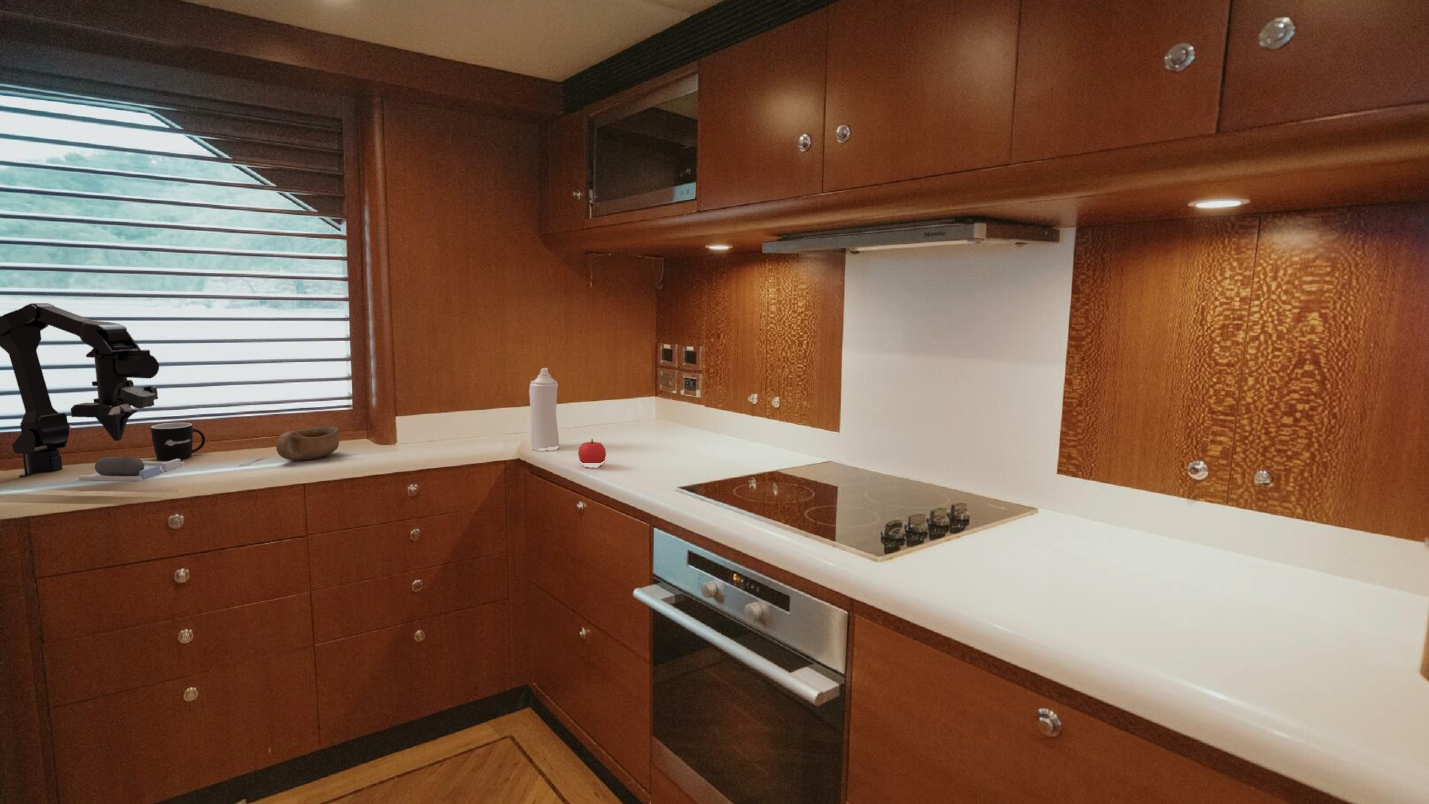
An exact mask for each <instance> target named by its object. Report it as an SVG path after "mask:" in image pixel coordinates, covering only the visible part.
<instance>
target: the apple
mask: <svg viewBox="0 0 1429 804" xmlns="http://www.w3.org/2000/svg"><path fill="white" fill-rule="evenodd" d="M577 453H578V460H579V462H580V461H581V462H582V463H601V462H603V461H605V460H606V455H607V452H606V448H605V446H604V445H603V443H601V442H597V441H594V438H591V441H587V442H583V443H582V444H581V445H580V446H579V447H578V452H577ZM605 462H606V461H605Z"/></svg>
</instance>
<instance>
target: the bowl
mask: <svg viewBox="0 0 1429 804" xmlns="http://www.w3.org/2000/svg"><path fill="white" fill-rule="evenodd" d="M339 432H340V429H339V428H338V427H337V426H317V427H315V426H314V427H309V428H303V429H298V430H297V429H296V430H288V431H285V432H283V433H281V434H280V435H279V436H278V438H277V440H276V444H275V445H276V446H275V447H276V448H275V449H276V451H277V453H278V456H280V457H281V458H283V459H285V460H290V461H291V460H292V461H293V460H294V461H297V460H298V461H302V460H315V459H321V458H325V457H326V456H328V455H331V454H332V453H334V452H335V451H336V450H337V449H338V448H339V445H340V443H339V442H340V441H339Z"/></svg>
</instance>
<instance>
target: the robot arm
mask: <svg viewBox="0 0 1429 804" xmlns="http://www.w3.org/2000/svg"><path fill="white" fill-rule="evenodd" d="M49 326H51V327H53V328H56V329H58V330H62V331H64V332H67V333H69V334H73V335H75V336H76V337H79V338H80V340H81V342H82V343H84V344H86V345H88V346H89V347H91V348H92V349H91V350H90V351H88V352H87V353H86V354H85V357H86V358H93V359H94V369H95V377H96V380H95V381H91V385H92V387H96V389H97V398H93V402H83V403H77V404H73V406H72V407H71V408H70V414H71V415H70V416H71V418H95V419H97V421H98V422H99V423H100V424H101V425H102V427H103V428H104V429H105V431H106V432H107V433H108V434H109V435H110V437H111V438H112V439H113V441H115V442H118V441H119V442H120V441H122V438H123V435H124V432H125V428H126V425H127V423H128V421H129V418H130V417H132V416H133V415H134V414H136V413H137V412H138V410H139V409H140V410H141V409H142V410H143V409H144V408H152V407H154V406H155V400H156V401H157V400H159V396H158V394H159V393H158V390H157V387H156V386H153V385H147V386H144V387H137V386H136V387H135V386H134V381H133V380H132V379H146V380H147V379H153V378H154V377H156V375H158V373H159V370H160V363H159V362H158V359H156V357H155V356H153V355H151V351H150V349H141V348H140V346H139V345H138V343H137V342H136V341H135V339H134V338H133V337H132V335H131V334H130V333H129V331H128V330H127V327H126V326H125V325H123V324H120V323H115V322H109V321H100V320H99V321H98V320H94V319H93V320H92V319H90V318H87V317H84V316H83V315H82V316H81V315H78V314H76V313H73V312H71V311H68V310H64V308H63V309H62V308H60V307H57V306H55V305H54V304H51V303H48V302H46V303H45V302H44V303H43V302H42V303H41V302H40V303H39V302H37V303H36V302H34V303H33V302H32V303H28V304H26V305H24V306H23V307H21V308H19V309H16V310H13V311H10V312H8V313H5V314H3V315H0V348H1V349H2V350H4V351H5V352H6V353H7V354H8V356H9V359H10V362H11V367H12V370H13V374H14V377H15V379H16V380H15V381H16V383H17V384H16V385H17V387H18V390H19V394H20V398H21V400H22V404H23V407H24V411H25V412H24V414H23V417H22V419H21V422H20V423H19V424H20V431H21V432H20V435H19V436H18V437H17V438H16V439H15V441H14V442H13V443H12V444H11V447H12V449H13V453H14V454H17V455H18V454H19V455H22V459H23V460H22V462H23V470H24V471H23V472H24V473H21V474H18V477H19V478H27V477H30V476H35V475H36V474H42V473H54V472H55V473H56V472H58V471H62V470H63V461H62V455H60V449H64V448H66V447H67V443H68V439H69V436H70V429H71V428H72V427H71V426H70V425H69V422H68V416H67V414H66V413H65V412H58V411H57V410H56V409H55V408H54V407H53V404H52V401H51V397H50V394H49V390H48V387H47V382H46V379H45V377H44V373H43V370H42V369H43V368H42V366H41V362H40V358H39V355H38V352H37V350H38V348H39V345H40V343H41V340H42V333H41V331H43V330H44V329H46V328H47V327H49ZM129 378H130V379H129ZM131 378H132V379H131ZM133 408H135V409H133ZM137 409H138V410H137Z"/></svg>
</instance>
